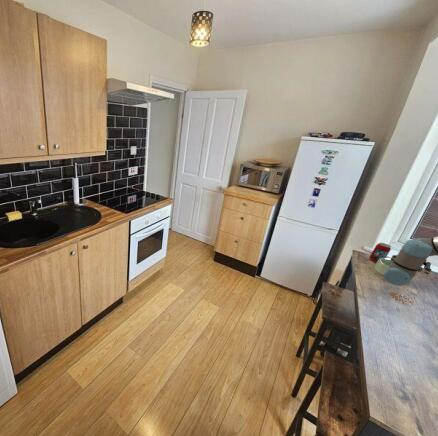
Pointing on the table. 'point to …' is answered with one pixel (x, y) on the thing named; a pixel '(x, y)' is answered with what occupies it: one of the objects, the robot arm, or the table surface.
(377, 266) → the bowl
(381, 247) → the beverage can
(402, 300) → the coaster
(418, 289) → the table surface
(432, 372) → the table surface
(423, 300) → the table surface
